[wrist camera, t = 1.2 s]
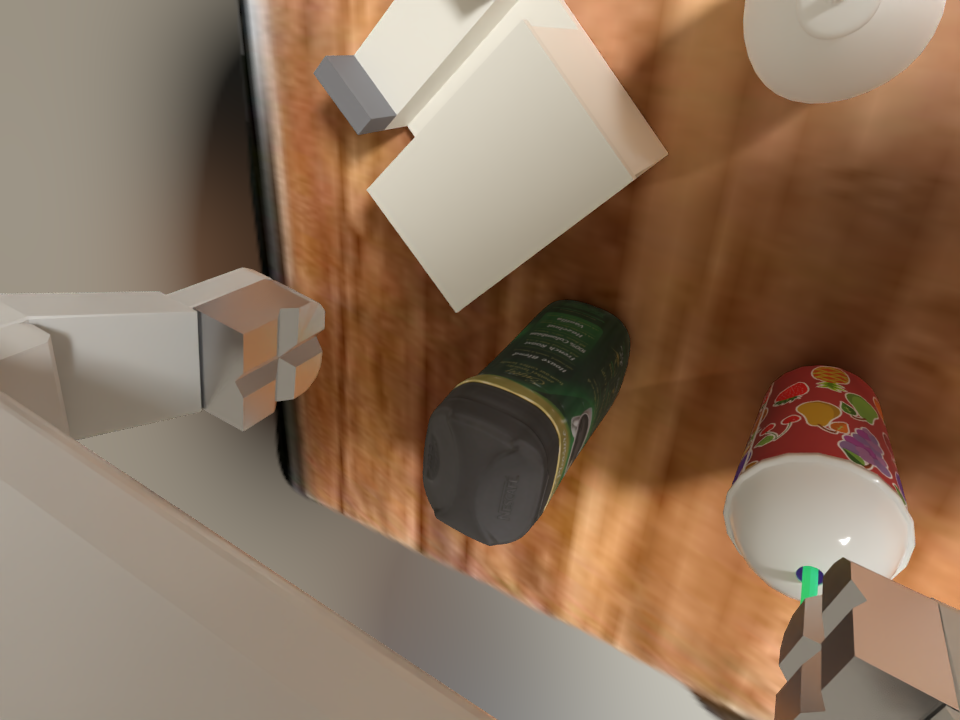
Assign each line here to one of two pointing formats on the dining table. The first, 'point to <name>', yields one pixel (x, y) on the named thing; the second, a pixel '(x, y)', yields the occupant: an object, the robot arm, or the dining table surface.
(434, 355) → the dining table surface
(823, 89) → the sauce bottle
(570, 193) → the cream armchair block
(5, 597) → the robot arm
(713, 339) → the dining table surface
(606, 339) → the coffee jar
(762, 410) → the smoothie
